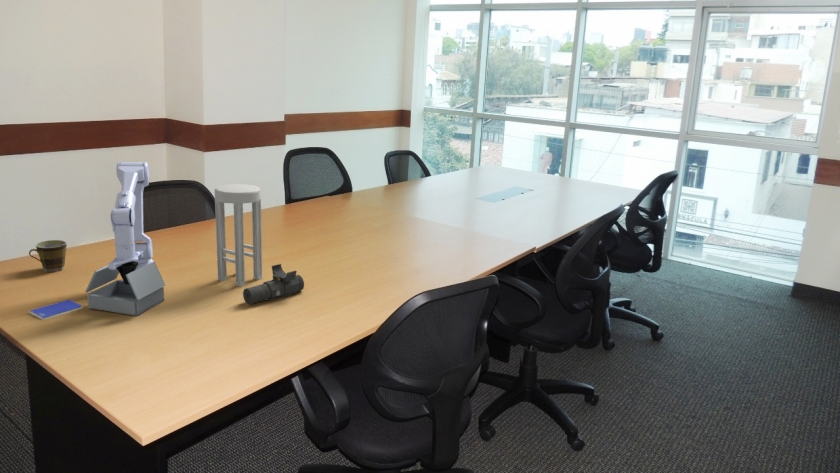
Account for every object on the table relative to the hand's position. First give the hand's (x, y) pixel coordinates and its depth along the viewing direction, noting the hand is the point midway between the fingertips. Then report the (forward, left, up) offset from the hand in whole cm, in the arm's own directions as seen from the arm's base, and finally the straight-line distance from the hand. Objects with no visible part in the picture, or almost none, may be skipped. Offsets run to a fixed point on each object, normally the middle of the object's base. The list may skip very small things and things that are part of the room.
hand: (128, 283), depth 212 cm
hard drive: (+12, -18, -8) cm, 23 cm away
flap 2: (0, +7, +2) cm, 7 cm away
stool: (-35, +21, -8) cm, 42 cm away
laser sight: (-24, +41, -8) cm, 48 cm away
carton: (0, -1, -7) cm, 7 cm away
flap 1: (0, -8, +2) cm, 8 cm away
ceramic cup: (-18, -48, -8) cm, 52 cm away
